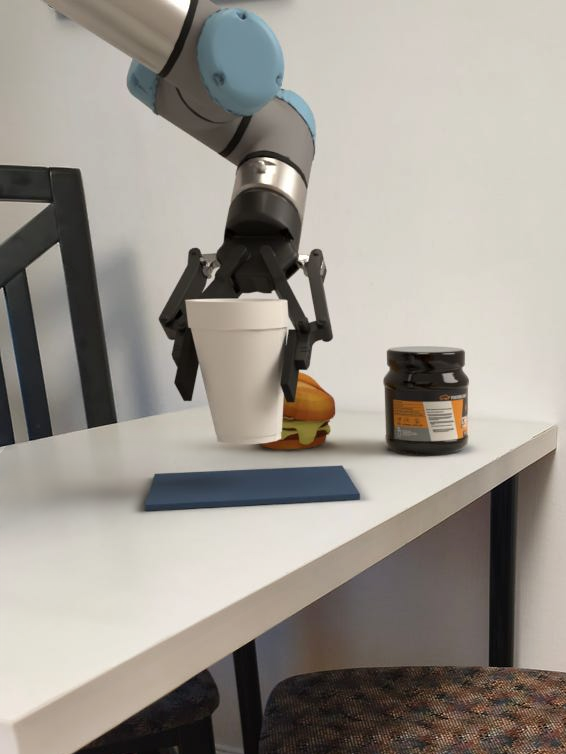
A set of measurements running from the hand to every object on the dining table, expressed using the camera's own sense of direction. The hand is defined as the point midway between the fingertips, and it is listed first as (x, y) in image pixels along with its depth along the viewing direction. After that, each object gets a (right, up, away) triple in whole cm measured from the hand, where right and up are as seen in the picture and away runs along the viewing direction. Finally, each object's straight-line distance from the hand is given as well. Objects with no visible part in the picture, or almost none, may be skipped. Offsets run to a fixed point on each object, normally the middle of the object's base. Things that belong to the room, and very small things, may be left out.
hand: (235, 392), depth 85 cm
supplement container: (+17, +1, +28) cm, 33 cm away
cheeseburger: (0, +1, +30) cm, 30 cm away
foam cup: (0, -3, +5) cm, 6 cm away
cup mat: (0, -8, +7) cm, 10 cm away
